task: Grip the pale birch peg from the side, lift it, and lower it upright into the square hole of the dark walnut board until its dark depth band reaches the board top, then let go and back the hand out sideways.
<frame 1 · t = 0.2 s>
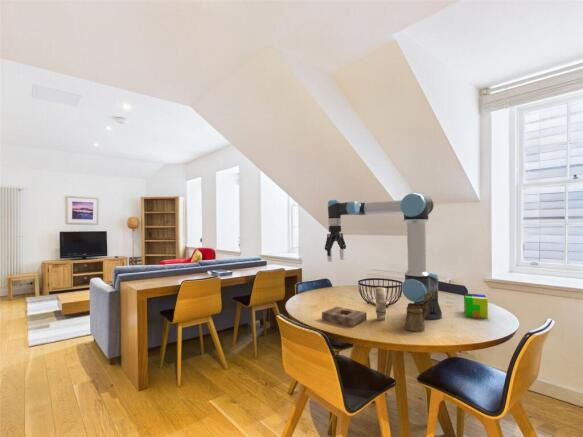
hand: (336, 260, 191), 27 cm above the table, tool pointing down, fingers open, 13 cm apart
walnut board: (344, 320, 162), on the table
wooden mug: (418, 328, 149), on the table, touching arm
puzzle toy: (475, 315, 170), on the table
birch peg: (380, 319, 163), on the table
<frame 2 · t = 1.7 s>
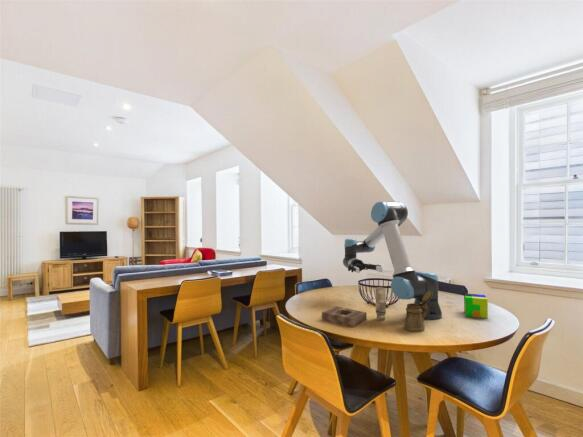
hand: (370, 270, 176), 24 cm above the table, tool horizontal, fingers open, 13 cm apart
wooden mug: (418, 329, 149), on the table
everything else where it was.
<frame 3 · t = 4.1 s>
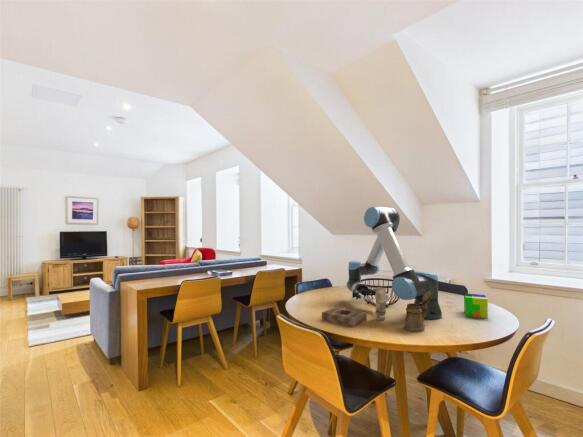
hand: (375, 297, 168), 10 cm above the table, tool horizontal, fingers open, 13 cm apart
nothing on the table moved.
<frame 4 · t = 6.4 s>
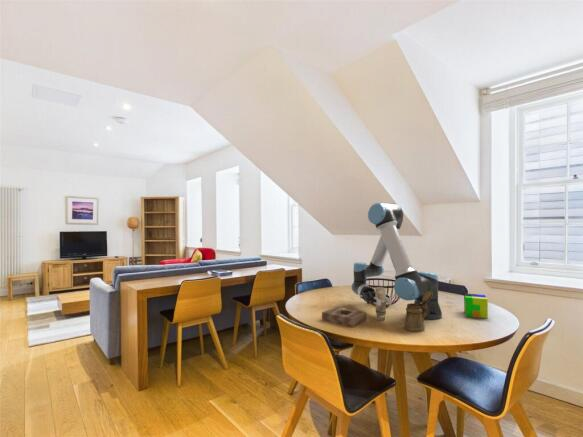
hand: (385, 302, 158), 10 cm above the table, tool horizontal, fingers closed on birch peg, 5 cm apart
birch peg: (380, 319, 163), on the table, touching gripper
everything else where it was.
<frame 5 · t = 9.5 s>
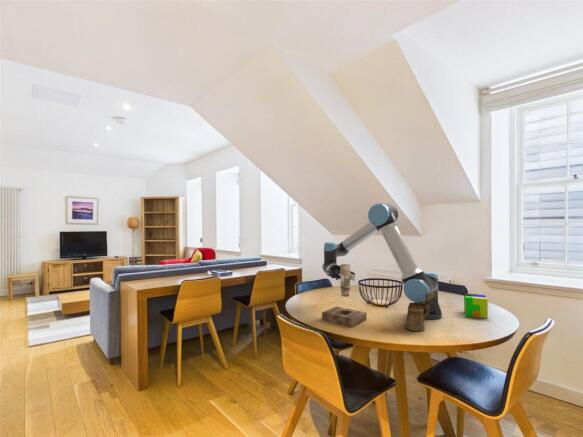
hand: (348, 278, 158), 22 cm above the table, tool horizontal, fingers closed on birch peg, 5 cm apart
wooden mug: (418, 328, 149), on the table, touching arm
birch peg: (345, 295, 163), point 12 cm above the table, touching gripper
everything else where it was.
when the fingers open (10 cm above the table, at t = 12.7 s): birch peg stays where it is, resting in walnut board.
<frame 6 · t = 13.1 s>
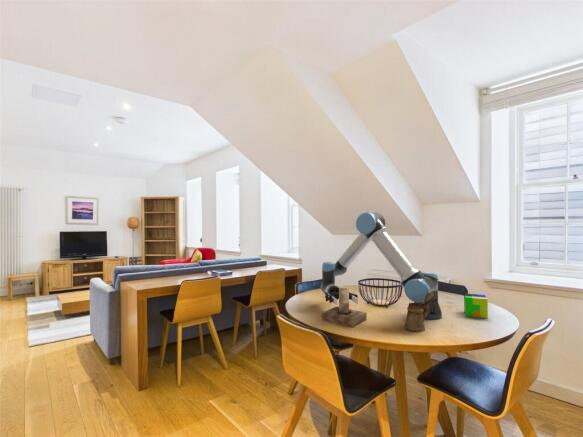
hand: (346, 301, 158), 10 cm above the table, tool horizontal, fingers open, 10 cm apart
birch peg: (344, 320, 162), resting in walnut board
everything else where it was.
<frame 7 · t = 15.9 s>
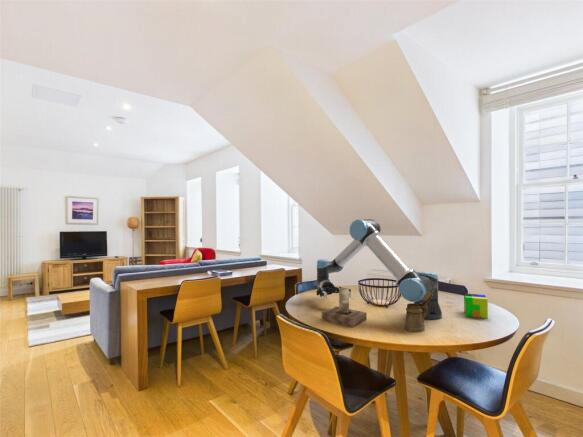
hand: (338, 295, 171), 11 cm above the table, tool horizontal, fingers open, 13 cm apart
wooden mug: (419, 329, 149), on the table
everything else where it was.
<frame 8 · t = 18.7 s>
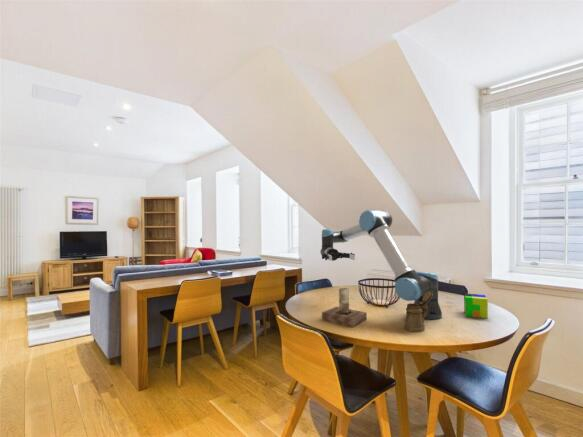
hand: (342, 257, 180), 30 cm above the table, tool horizontal, fingers open, 13 cm apart
nothing on the table moved.
at the end: birch peg 0.1 cm off-centre on the walnut board, point 0.0 cm above the walnut board's base; birch peg tilted 0°; the gripper is holding nothing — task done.
